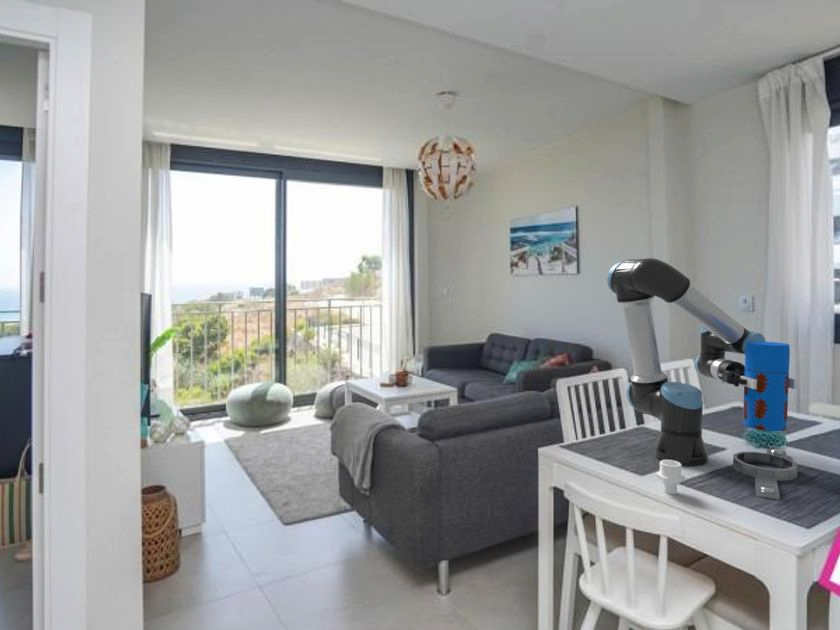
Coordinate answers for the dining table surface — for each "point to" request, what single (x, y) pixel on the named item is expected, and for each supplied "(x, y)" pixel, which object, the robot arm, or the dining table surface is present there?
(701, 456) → the robot arm
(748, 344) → the thermos
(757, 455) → the grey handled tray
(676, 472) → the pipe fitting
